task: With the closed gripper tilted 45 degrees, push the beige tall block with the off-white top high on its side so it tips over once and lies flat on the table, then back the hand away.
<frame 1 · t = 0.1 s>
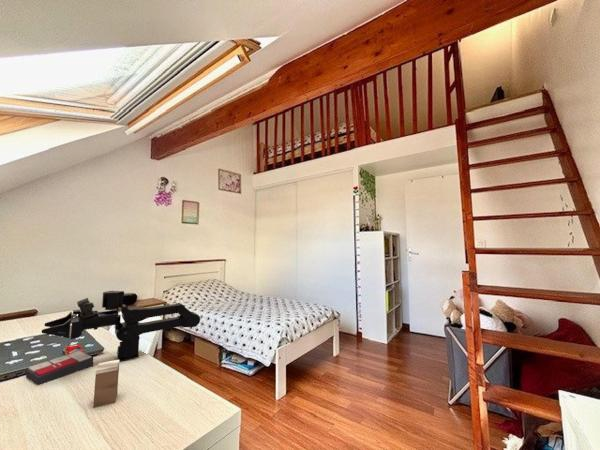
hand: (43, 327, 86), 17 cm above the table, tool horizontal, fingers open, 9 cm apart
beige tall block: (105, 400, 73), on the table
race car: (73, 356, 102), on the table
calculator: (60, 373, 90), on the table
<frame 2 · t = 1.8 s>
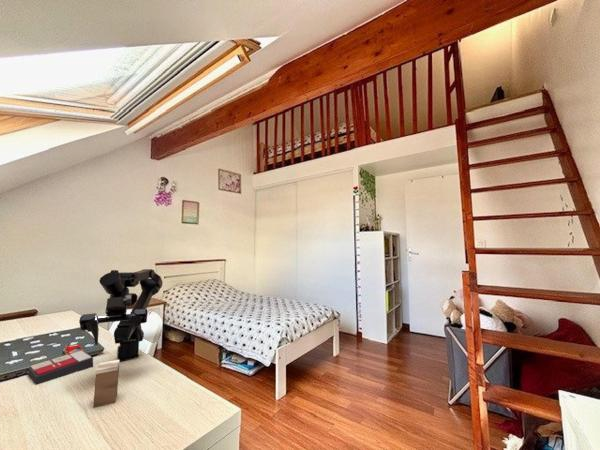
hand: (112, 342, 81), 14 cm above the table, tool tilted 45°, fingers open, 8 cm apart
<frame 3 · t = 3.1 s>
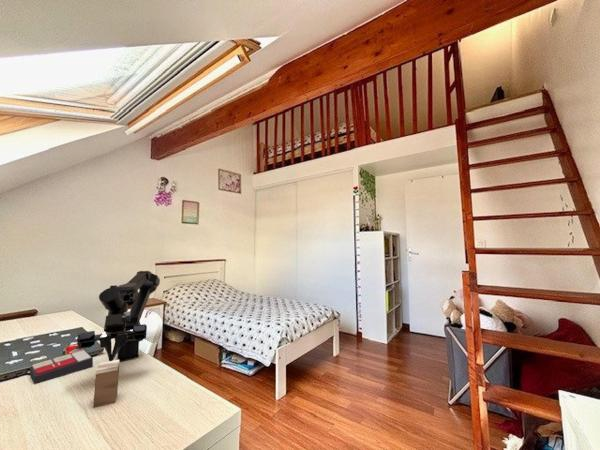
hand: (110, 361, 80), 8 cm above the table, tool tilted 45°, fingers closed
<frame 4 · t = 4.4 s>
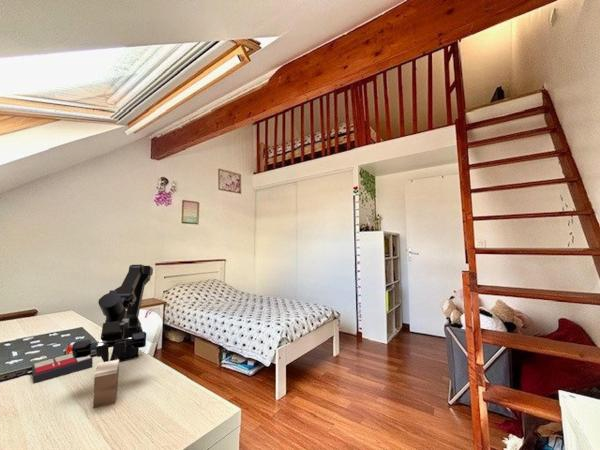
hand: (107, 371, 75), 7 cm above the table, tool tilted 45°, fingers closed
beige tall block: (105, 398, 73), on the table, tilted 11°
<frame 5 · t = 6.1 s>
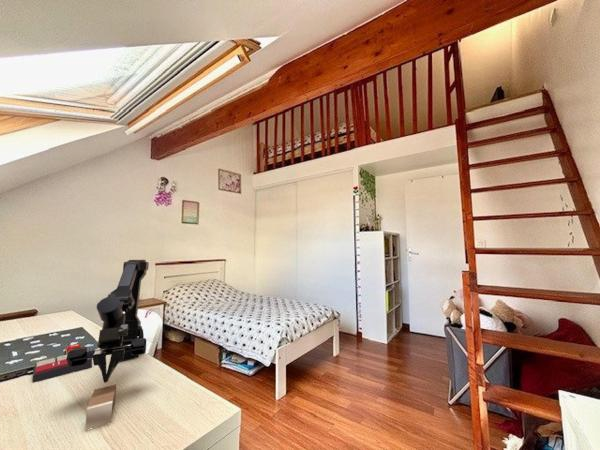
hand: (105, 381, 70), 7 cm above the table, tool tilted 45°, fingers closed
beige tall block: (104, 396, 71), point 2 cm above the table, tilted 90°
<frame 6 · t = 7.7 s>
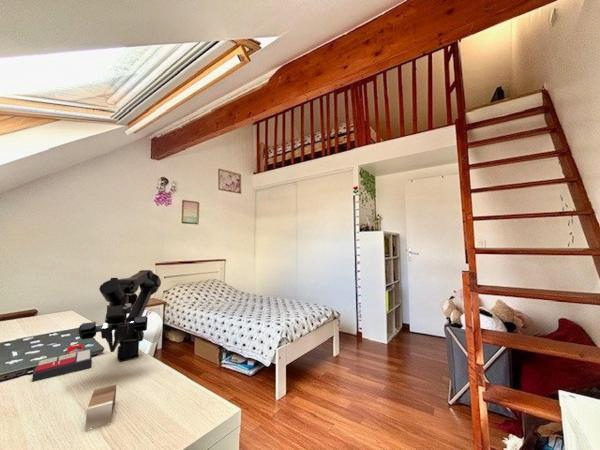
hand: (112, 351, 81), 11 cm above the table, tool tilted 45°, fingers closed
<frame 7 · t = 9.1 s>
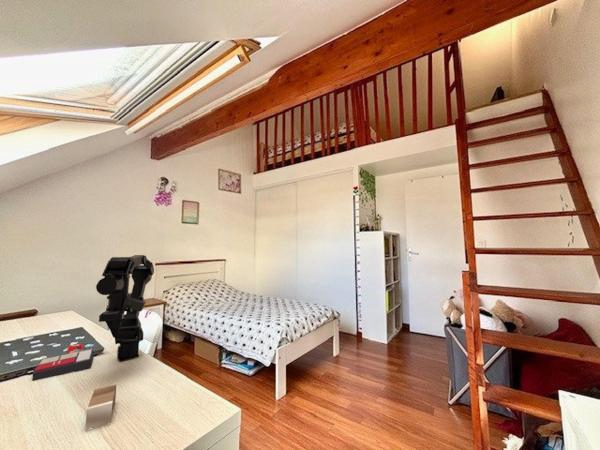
hand: (115, 337, 88), 13 cm above the table, tool pointing down, fingers closed
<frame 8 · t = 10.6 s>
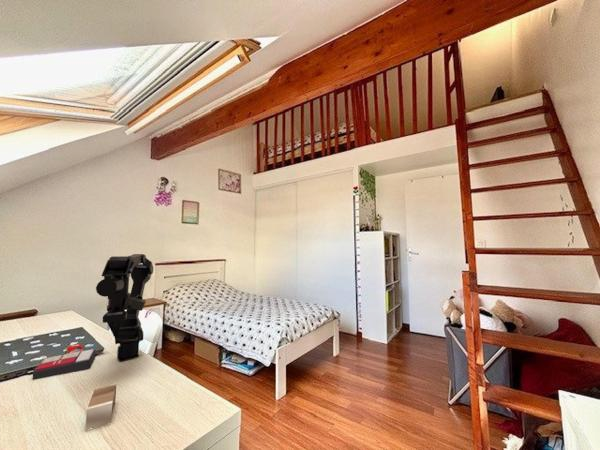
hand: (115, 336, 89), 13 cm above the table, tool pointing down, fingers closed
at the end: beige tall block tilted 90°; beige tall block inside the target area (1.1 cm from its centre), point 2.4 cm above the table; the gripper is holding nothing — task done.
